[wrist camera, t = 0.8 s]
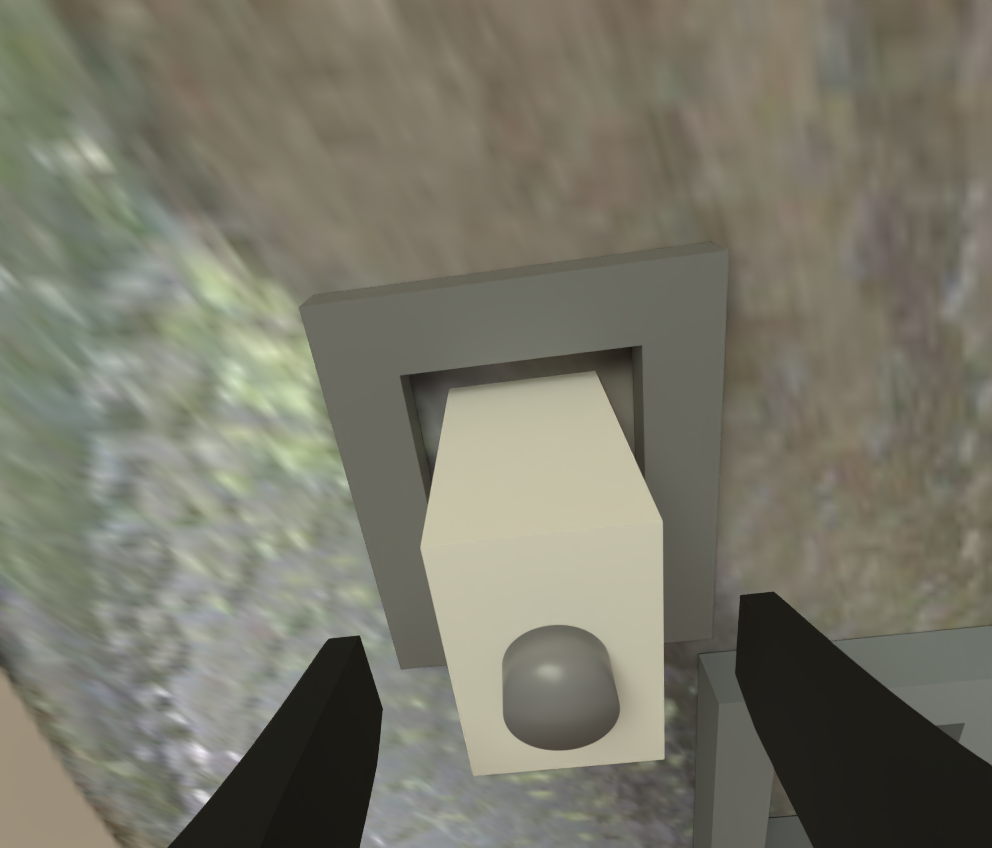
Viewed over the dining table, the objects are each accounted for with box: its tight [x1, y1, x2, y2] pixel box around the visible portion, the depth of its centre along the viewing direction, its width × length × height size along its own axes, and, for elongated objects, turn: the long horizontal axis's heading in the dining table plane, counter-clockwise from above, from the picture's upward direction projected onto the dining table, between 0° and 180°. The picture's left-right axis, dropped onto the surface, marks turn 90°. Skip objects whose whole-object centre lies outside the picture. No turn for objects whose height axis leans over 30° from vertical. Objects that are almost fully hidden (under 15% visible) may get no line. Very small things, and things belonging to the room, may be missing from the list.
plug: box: [420, 371, 664, 776], centre depth 14 cm, size 4×6×8 cm, turn 8°
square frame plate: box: [299, 242, 729, 669], centre depth 17 cm, size 10×12×1 cm
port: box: [693, 626, 992, 848], centre depth 21 cm, size 10×12×3 cm
